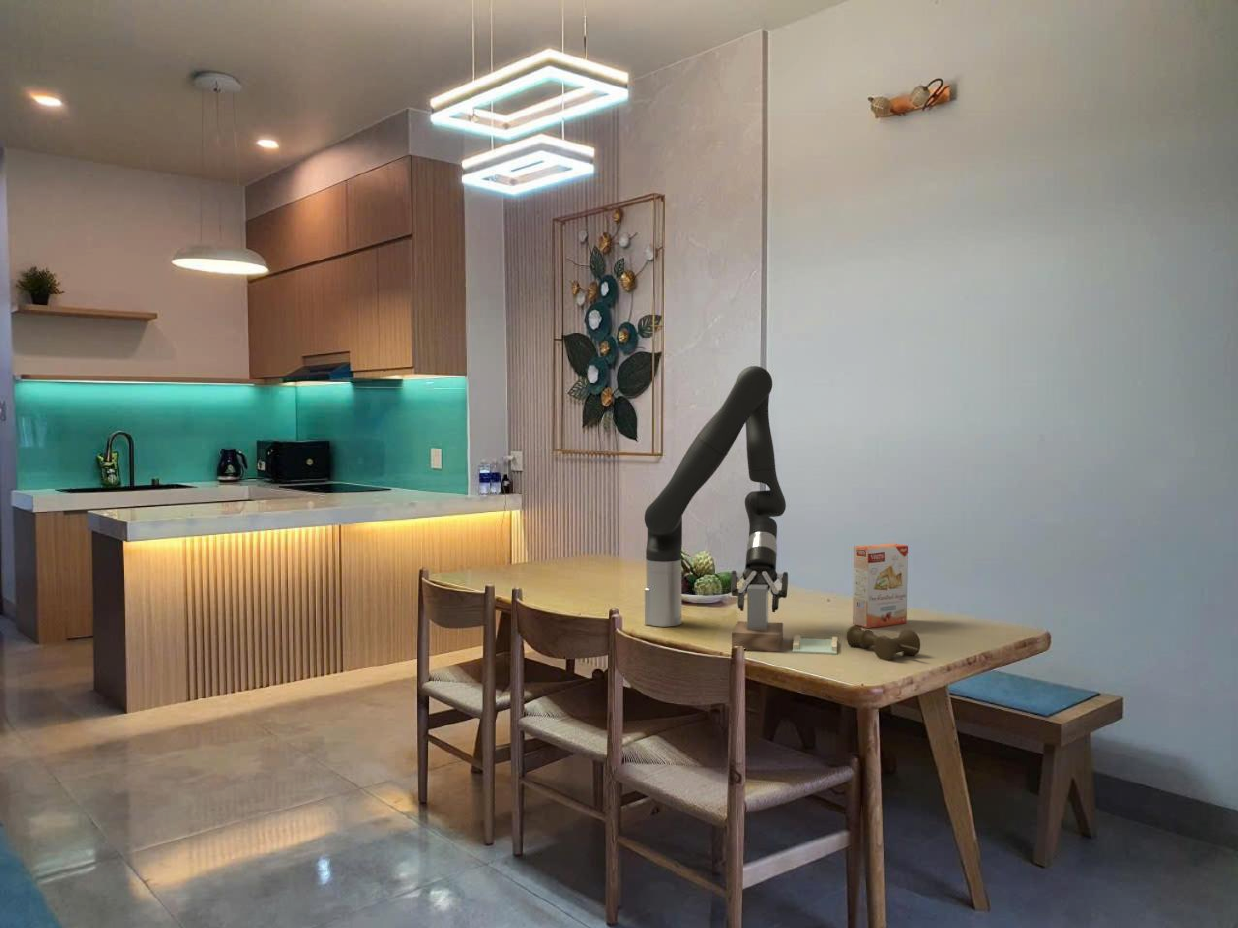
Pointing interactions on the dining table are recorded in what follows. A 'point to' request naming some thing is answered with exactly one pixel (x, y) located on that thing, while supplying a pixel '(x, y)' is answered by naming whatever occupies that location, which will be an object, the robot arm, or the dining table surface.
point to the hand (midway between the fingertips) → (757, 609)
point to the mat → (815, 645)
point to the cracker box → (880, 585)
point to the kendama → (884, 642)
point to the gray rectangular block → (757, 607)
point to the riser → (758, 637)
